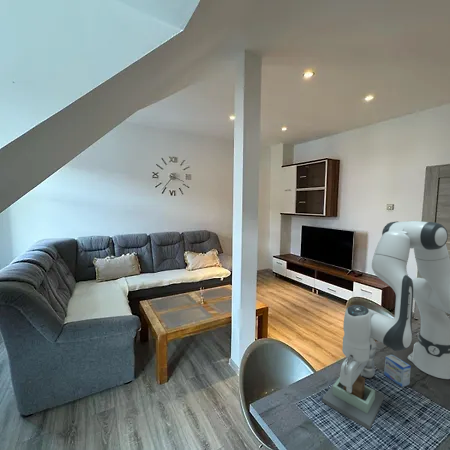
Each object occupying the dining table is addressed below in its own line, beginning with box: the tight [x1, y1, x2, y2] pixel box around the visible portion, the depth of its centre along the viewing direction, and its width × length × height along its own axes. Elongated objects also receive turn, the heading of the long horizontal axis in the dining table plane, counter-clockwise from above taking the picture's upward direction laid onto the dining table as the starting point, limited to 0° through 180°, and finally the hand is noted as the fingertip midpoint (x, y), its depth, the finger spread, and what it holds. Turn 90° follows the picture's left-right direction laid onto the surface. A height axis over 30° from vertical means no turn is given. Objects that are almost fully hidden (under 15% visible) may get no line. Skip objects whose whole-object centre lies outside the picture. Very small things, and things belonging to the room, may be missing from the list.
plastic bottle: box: [362, 337, 378, 379], centre depth 105 cm, size 6×7×20 cm
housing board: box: [321, 375, 385, 431], centre depth 93 cm, size 18×16×5 cm
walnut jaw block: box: [344, 376, 366, 400], centre depth 92 cm, size 4×6×8 cm, turn 44°
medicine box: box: [383, 354, 412, 388], centre depth 103 cm, size 8×4×9 cm, turn 21°
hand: (354, 384), depth 92 cm, fingers open, 8 cm apart
